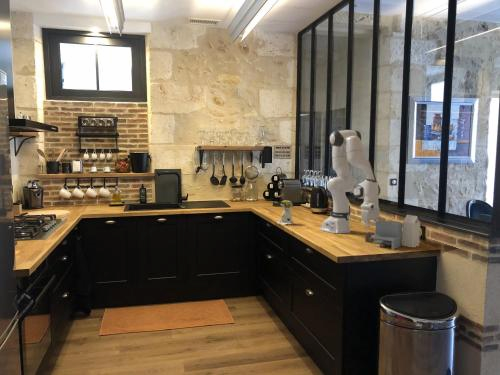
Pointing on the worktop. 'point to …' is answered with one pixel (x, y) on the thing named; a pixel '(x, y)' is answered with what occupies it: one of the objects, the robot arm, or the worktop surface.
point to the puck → (383, 244)
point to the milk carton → (411, 231)
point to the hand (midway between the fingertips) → (370, 226)
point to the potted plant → (286, 213)
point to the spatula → (371, 240)
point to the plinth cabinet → (389, 232)
